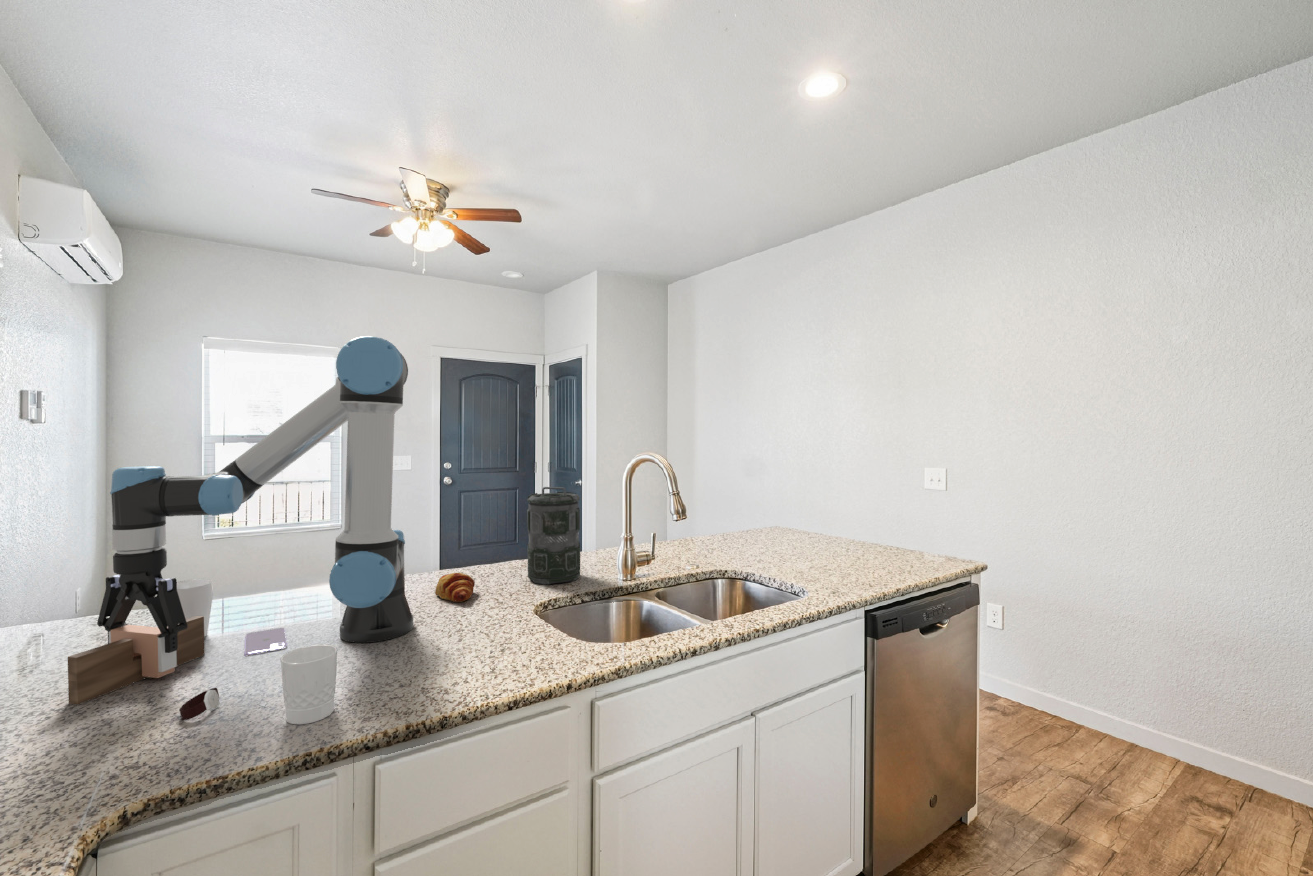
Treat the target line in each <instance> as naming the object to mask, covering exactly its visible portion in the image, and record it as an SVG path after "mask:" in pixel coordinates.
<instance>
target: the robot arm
mask: <svg viewBox="0 0 1313 876" xmlns="http://www.w3.org/2000/svg"><path fill="white" fill-rule="evenodd" d="M335 367H336V368H335V369H336V373H337V377H336V378H335V384H334V385H333V386H332V387H331V388H329V389H328V390H326V391H325V392H324V393H323V394H321V395H320V396H318V397H317V398H315V399H314V400H313V401H311V402H310V403H309V404H307V405H306V406H305V407H304V408H302V409H301V410H300V411H298V412H297V413H296V414H294V415H293V416H291V417H289V419H287V420H286V421H285V422H283V423H282V424H281V425H279V426H278V427H276V429H274V430H273V431H272V432H269V434H268V435H267V436H265V437H263V438H262V439H261V440H259V441H258V442H257V443H255V444H254V445H252V446H251V447H250V448H249V449H247V450H246V451H245V452H243V453H242V454H241V455H239V456H238V457H237V458H235V460H233V461H232V462H230V463H229V464H228V465H226V466H225V467H223V468H222V469H221V470H220V471H218V472H213V473H209V474H204V475H202V474H201V475H190V476H189V475H188V476H187V475H186V476H170V475H167V474H166V471H165V468H164V467H162V466H159V465H144V466H142V465H141V466H139V465H138V466H125V467H120V468H117V469H115V470H113V472H112V474H111V489H110V492H109V493H110V495H111V513H112V516H111V517H112V529H111V530H112V531H111V535H112V537H111V538H112V539H111V541H112V543H111V544H112V545H111V546H112V550H113V551H114V552H115V553H114V554H113V555H112V567H113V569H112V571H113V573H114V574H115V575H111V576H107V577H106V578H105V591H104V595H103V599H102V602H101V606H100V610H99V615H98V619H97V626H98V627H104V630H105V631H106V632H107V644H109V643H111V630H112V629H116V628H119V627H122V626H125V625H128V623H127V622H126V621H127V619H128V617H129V615H130V614H131V611H132V609H133V607H134V605H135V604H136V602H137V601H139V602H141V604H142V605H143V606H146V608H147V609H148V610H149V614H150V615H151V617H152V618H153V620H154V623H155V625H156V627H158V628H159V630H160V632H161V634H160V635H159V636H158V672H164V671H166V670H169V669H171V668H176V667H178V666H177V656H176V650H177V648H178V645H177V644H178V643H177V642H178V638H177V634H178V632H179V631H182V630H185V629H187V627H188V626H187V622H186V619H185V615H184V612H183V609H182V605H181V602H180V599H179V596H178V592H177V582H178V581H177V578H176V577H175V576H173V577H169V578H163V576H162V570H163V569H165V568H166V567H167V565H168V558H167V557H168V555H167V553H168V552H167V548H165V547H164V546H165V545H166V544H167V538H166V537H167V536H166V535H167V533H166V524H167V521H166V520H167V519H166V518H167V517H182V516H184V517H185V516H190V517H191V516H213V517H214V516H215V517H216V516H219V515H229V514H234V513H236V512H237V511H239V509H240V507H241V505H242V504H244V503H245V502H247V501H248V500H250V499H251V498H252V497H253V496H254V495H255V493H256V492H257V491H258V490H260V489H261V488H262V487H263V486H265V484H267V483H268V482H269V481H271V480H272V479H274V478H275V477H276V476H277V475H278V474H280V473H281V472H283V471H284V470H285V469H286V468H288V467H289V466H290V465H292V464H293V463H294V462H296V461H298V459H299V458H300V457H302V456H304V455H305V454H306V453H308V452H309V451H310V450H312V449H313V448H314V447H315V446H317V445H318V444H319V443H321V442H322V441H323V440H325V439H326V438H327V437H329V436H330V435H331V434H332V433H334V432H335V431H336V430H338V429H339V428H340V427H341V426H343V425H344V424H346V423H347V430H346V431H347V437H346V439H347V440H346V465H345V467H346V469H345V470H346V471H345V473H346V474H345V495H344V496H345V497H344V498H345V499H344V500H345V503H344V528H343V529H344V530H343V531H342V532H340V534H338V535H337V536H336V537H335V545H334V546H335V547H334V564H333V566H332V569H330V574H329V579H328V581H329V588H330V591H331V593H332V595H333V597H334V598H335V599H336V600H338V602H340V603H342V604H343V605H344V606H346V607H345V610H344V613H343V616H342V620H341V622H340V626H339V637H340V639H341V640H342V641H346V642H350V643H359V644H361V643H363V644H364V643H376V642H381V641H386V640H392V639H394V638H397V637H398V638H399V637H400V636H403V635H405V634H407V633H409V632H410V631H412V630H413V629H414V616H413V614H412V611H411V608H410V606H409V605H410V604H409V602H408V600H407V597H406V591H405V590H406V589H405V583H406V582H405V580H406V579H405V544H406V541H405V535H404V532H403V531H402V530H401V529H393V528H392V505H393V504H392V500H393V476H394V475H393V470H394V467H393V466H394V443H395V442H394V441H395V439H394V438H395V414H396V412H397V411H398V410H400V409H401V408H402V407H403V405H404V404H403V403H404V401H403V400H404V385H405V384H406V382H407V379H408V375H409V367H408V363H407V360H406V358H405V357H404V355H403V354H402V353H401V352H400V351H399V349H398V348H397V347H396V346H395V344H393V343H392V342H390V341H389V340H387V339H385V338H382V337H378V336H372V335H365V336H359V337H355V338H352V339H351V340H349V341H348V342H346V343H345V344H344V345H343V346H342V347H341V349H340V350H339V352H338V354H337V355H336V362H335ZM166 475H167V476H166ZM178 624H179V625H178ZM167 626H168V629H167Z"/></svg>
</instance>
